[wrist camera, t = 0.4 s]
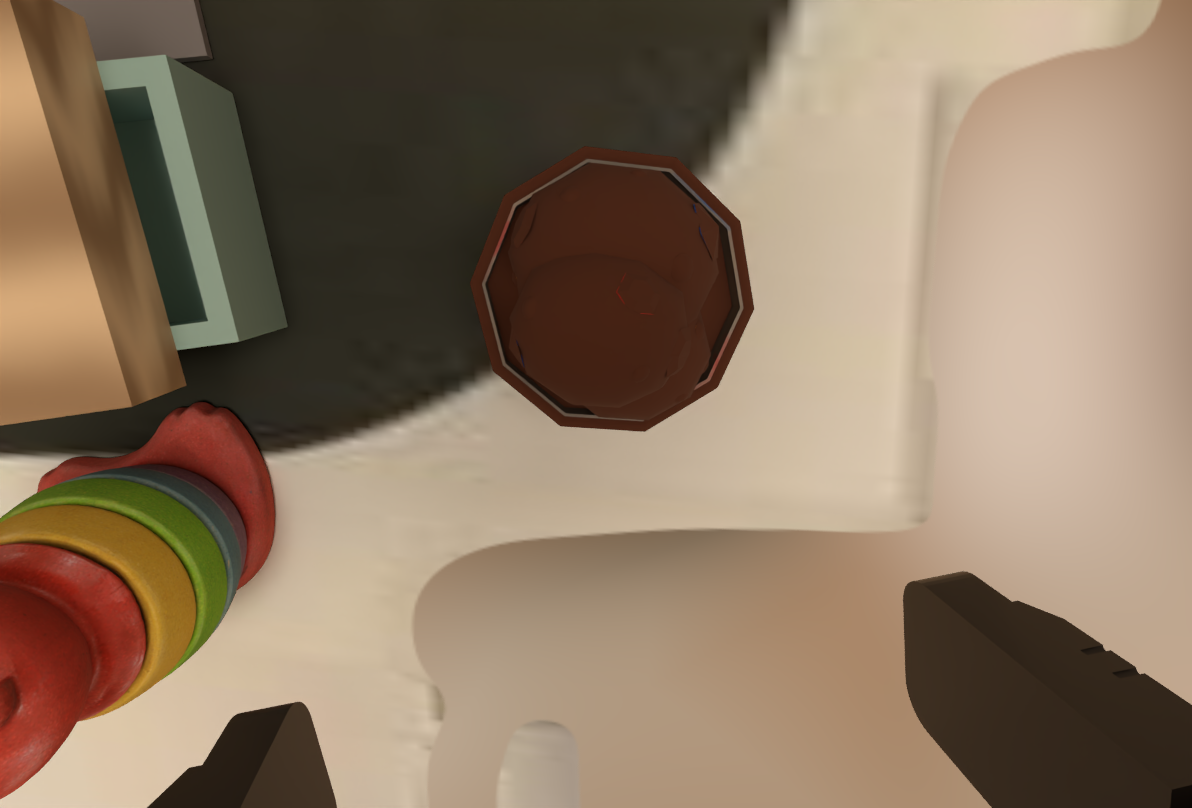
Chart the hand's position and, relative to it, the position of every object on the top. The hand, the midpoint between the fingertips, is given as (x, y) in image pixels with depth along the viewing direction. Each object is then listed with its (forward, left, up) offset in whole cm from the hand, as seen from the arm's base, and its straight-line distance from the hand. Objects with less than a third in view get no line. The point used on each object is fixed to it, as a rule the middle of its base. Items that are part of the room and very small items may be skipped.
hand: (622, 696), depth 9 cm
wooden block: (-9, -18, -21) cm, 29 cm away
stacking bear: (+5, -20, -28) cm, 34 cm away
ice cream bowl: (-4, +3, -27) cm, 28 cm away
